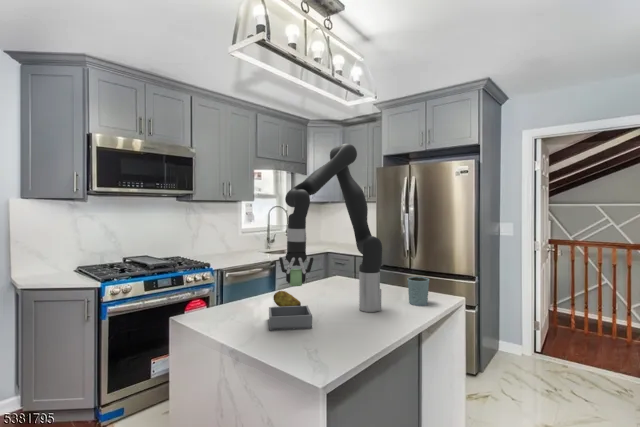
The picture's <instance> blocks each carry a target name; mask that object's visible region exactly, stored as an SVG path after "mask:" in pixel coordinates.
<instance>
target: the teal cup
mask: <svg viewBox="0 0 640 427" xmlns="http://www.w3.org/2000/svg"><path fill="white" fill-rule="evenodd" d="M429 284H430V278H427V277H423V276H410V277H407V287H408V289H407V291H408V304H409V305H411V306H416V307H425V306H428V304H429V303H428V301H429Z"/></svg>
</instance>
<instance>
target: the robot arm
mask: <svg viewBox="0 0 640 427" xmlns="http://www.w3.org/2000/svg"><path fill="white" fill-rule="evenodd" d="M357 156H358V151H357V149H356V147H355V146H354V145H353V144H351V143H342V144H340V145H338V146H335V147H333V148H332V149H331V150H330V152H329V159H330V160H329V161H328V162H325V164H323V165H322V166H320V167H319V168H317V169H316V170H314V171H313V172H312V173H311V174H309V176H307V178H305V179H304V180H303V181H301V182H300V183H298V184H297V185H296V186H295V185H294V187H291V189H289V191H287V193H286V195H285V198H284V199H285V203H286V205H287V206H288V207H290V208H293V212H292V213H290V214H288V218H287V220H288V221H287V234H286V254H285V255H284V256H279V257H278V260H279V264H280V270H281V272H282V273H284V274H285V280H286V282H287V284H289V283H290V270H291V269H293V268H292V267H295V266H298V267H300V269H301V270H302V284H304V283H305V282H306V274H307V273H311V270H312V266H313V262H314V257H313V256H308V255H307V231H306V230H307V229H306V227H307V226H306V225H307V216H308V213H309V208H310V205H311V198H310V196H313V195H315V194H317V193H318V192H319V191H320V190H321V189H322V188H323V187H324V186H325V185H326V184H327V183H328V182H329V181H330V180H331V179H332V178H333V177H335V176H336V178H337V180H338V184H339V187H340V190H341V193H342V196H343V200H344V204H345V207H346V210H347V213H348V216H349V219H350V222H351V226H352V229H353V233H354V238H355V245H356V248H357V250H358V252H359V253H360V255H362V261H361V264H359V266H358V268H359V269H358V270H359V271H358V276H359V277H358V279H359V280H358V282H359V284H358V285H359V286H358V287H359V288H358V290H359V291H358V296H359V297H358V299H359V300H358V302H359V304H358V305H359V306H358V307H359V308H358V309H359V311H361V312H365V313H366V312H367V313H376V312H381V311H382V289H381V276H380V275H381V267H382V263H383V262H382V261H383V244H382V242H381V240H380V238H378V237H377V236H375V235H374V236H373V235H372V233H371V230H370V227H369V223H368V214H369V213H368V211H369V210H368V203H367V199H366V196H365V193H364V190H363V189H362V187H361V186H360V185H359V184H358V183H357V181H356V180H355V179H354V178H353V176H352V174H351V172H350V170H349V166H350V165H352V164H353V163H354V162H355V161H356V159H357ZM306 260H307V267H306V268H305V265H304V263H305V261H306ZM285 261H287V262H288V265H287V268H285V264H284V263H285Z"/></svg>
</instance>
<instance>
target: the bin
mask: <svg viewBox="0 0 640 427" xmlns="http://www.w3.org/2000/svg"><path fill="white" fill-rule="evenodd" d="M268 325H269V331H270V332H272V331H273V332H274V331H287V330H290V331H291V330H307V329H313V314H312V312H311V309H310V308H309V306H308V305H301V306H285V307H279V306H270V307H268Z"/></svg>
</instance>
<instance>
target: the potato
mask: <svg viewBox="0 0 640 427" xmlns="http://www.w3.org/2000/svg"><path fill="white" fill-rule="evenodd" d="M272 298H273V302H274V303H275V304H276V306H277V307H285V306H302V305H301V301H300V300H299V299H298V298H296V297H294V295H292V294H290V293H288V291H286V290H279V291H276V292H275V293H274V294H273V297H272Z"/></svg>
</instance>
